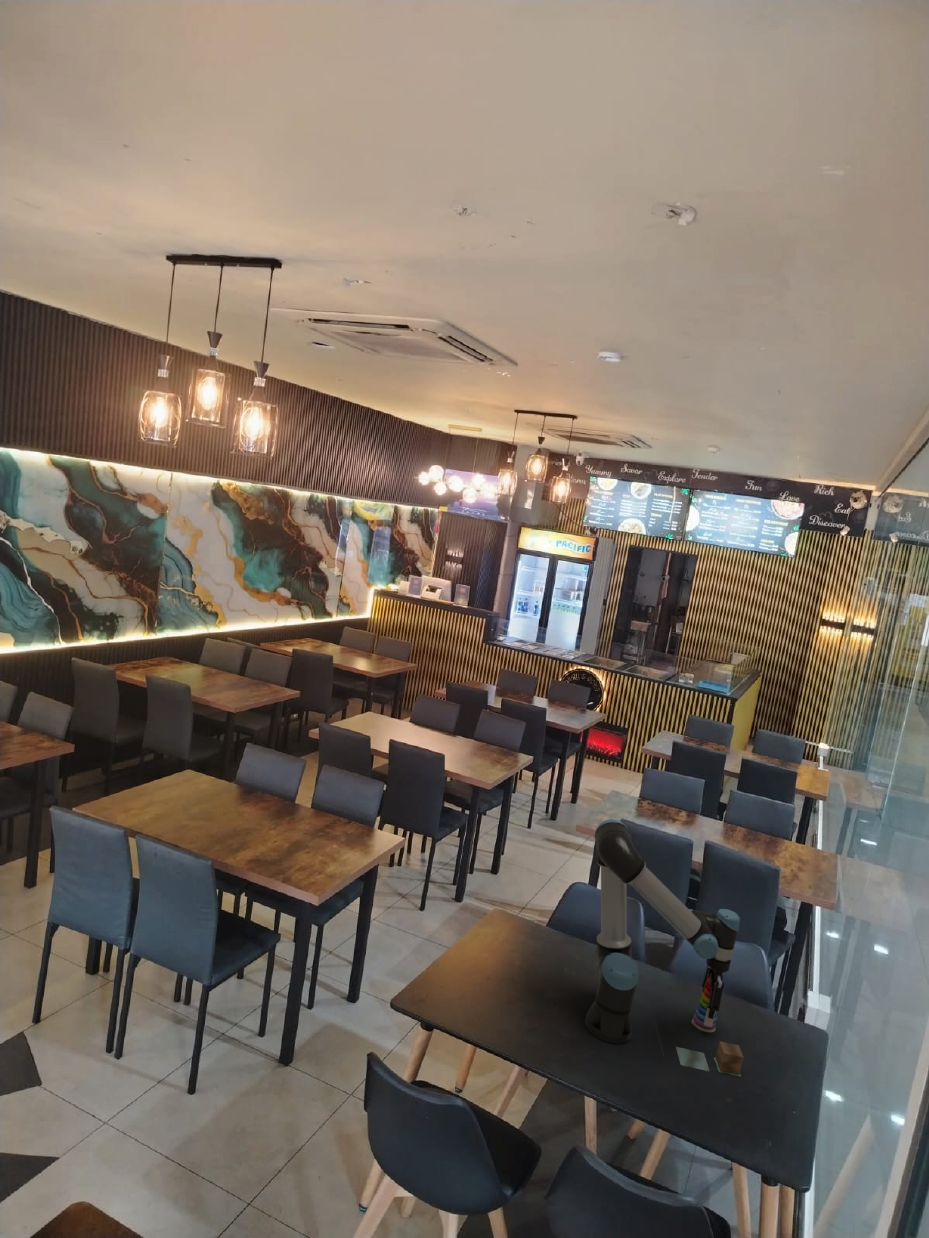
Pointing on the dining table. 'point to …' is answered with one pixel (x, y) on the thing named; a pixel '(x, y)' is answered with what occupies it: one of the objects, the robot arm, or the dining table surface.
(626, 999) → the robot arm
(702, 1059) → the paired pale square pads
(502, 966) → the dining table surface
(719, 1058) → the walnut cube
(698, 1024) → the stacking toy
